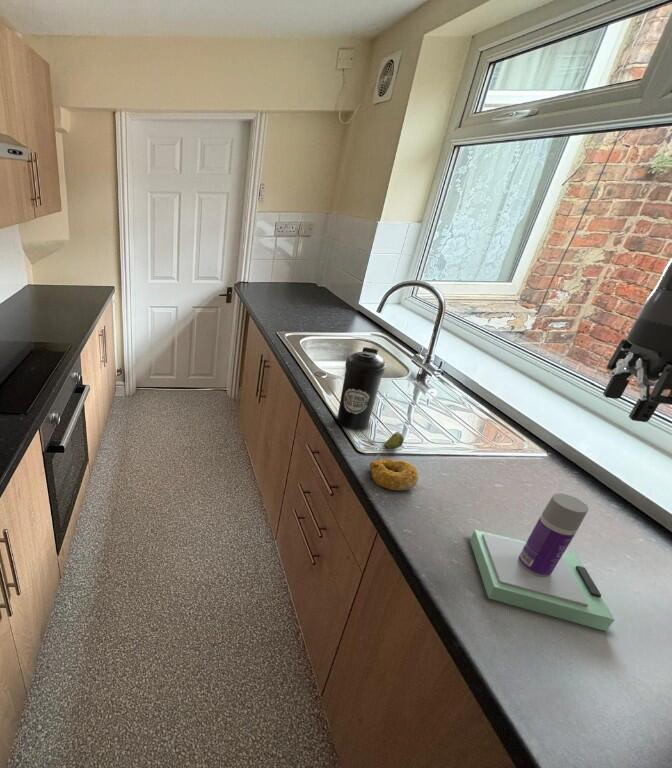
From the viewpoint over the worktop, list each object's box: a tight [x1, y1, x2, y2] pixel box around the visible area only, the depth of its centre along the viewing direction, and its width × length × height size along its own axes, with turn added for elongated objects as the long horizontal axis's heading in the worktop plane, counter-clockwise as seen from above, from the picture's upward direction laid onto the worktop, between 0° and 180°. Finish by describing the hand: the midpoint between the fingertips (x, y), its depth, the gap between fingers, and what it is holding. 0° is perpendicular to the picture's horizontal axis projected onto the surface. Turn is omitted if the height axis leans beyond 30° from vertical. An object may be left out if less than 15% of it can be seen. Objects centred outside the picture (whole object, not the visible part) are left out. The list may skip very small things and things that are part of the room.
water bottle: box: [336, 346, 387, 431], centre depth 120 cm, size 10×10×23 cm
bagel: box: [369, 458, 419, 491], centre depth 100 cm, size 10×11×5 cm
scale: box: [469, 529, 615, 632], centre depth 75 cm, size 16×14×4 cm
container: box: [518, 493, 589, 577], centre depth 71 cm, size 5×5×15 cm
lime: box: [384, 431, 405, 450], centre depth 112 cm, size 4×5×5 cm
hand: (623, 408), depth 72 cm, fingers open, 8 cm apart
